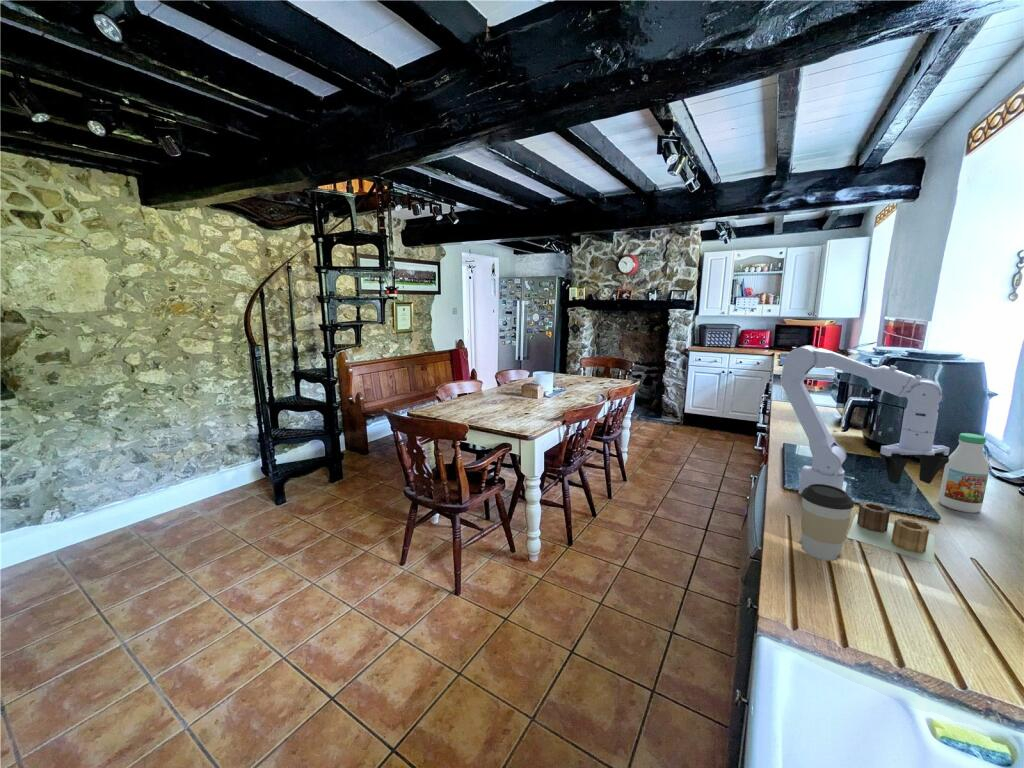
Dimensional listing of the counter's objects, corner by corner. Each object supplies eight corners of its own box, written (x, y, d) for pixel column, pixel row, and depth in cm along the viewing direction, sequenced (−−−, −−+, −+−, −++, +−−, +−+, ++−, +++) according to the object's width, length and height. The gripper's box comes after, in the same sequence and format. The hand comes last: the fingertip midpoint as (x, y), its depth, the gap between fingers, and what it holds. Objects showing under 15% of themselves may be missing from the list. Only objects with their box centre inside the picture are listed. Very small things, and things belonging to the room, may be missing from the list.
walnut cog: (855, 526, 97) (858, 507, 96) (858, 518, 100) (861, 499, 99) (886, 535, 93) (889, 515, 92) (888, 526, 96) (891, 507, 96)
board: (846, 542, 93) (848, 525, 92) (855, 518, 103) (857, 503, 102) (933, 569, 83) (936, 550, 82) (933, 539, 93) (936, 523, 92)
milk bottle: (929, 500, 111) (942, 431, 107) (955, 499, 111) (968, 430, 108) (963, 514, 103) (977, 440, 100) (989, 512, 104) (1005, 439, 100)
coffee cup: (838, 545, 91) (847, 483, 89) (852, 568, 83) (862, 501, 81) (791, 536, 95) (798, 477, 93) (800, 557, 87) (807, 493, 84)
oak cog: (890, 545, 89) (893, 525, 88) (892, 536, 92) (896, 516, 91) (924, 556, 85) (928, 534, 84) (926, 546, 88) (930, 525, 87)
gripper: (902, 435, 93) (894, 489, 95) (967, 434, 93) (956, 488, 95) (876, 426, 100) (868, 477, 102) (936, 425, 99) (926, 476, 102)
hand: (909, 482), depth 99 cm, fingers open, 7 cm apart
